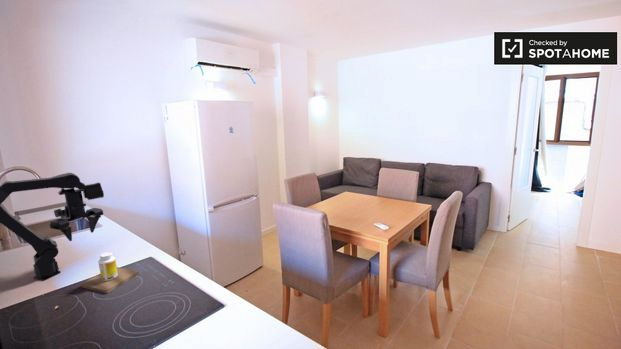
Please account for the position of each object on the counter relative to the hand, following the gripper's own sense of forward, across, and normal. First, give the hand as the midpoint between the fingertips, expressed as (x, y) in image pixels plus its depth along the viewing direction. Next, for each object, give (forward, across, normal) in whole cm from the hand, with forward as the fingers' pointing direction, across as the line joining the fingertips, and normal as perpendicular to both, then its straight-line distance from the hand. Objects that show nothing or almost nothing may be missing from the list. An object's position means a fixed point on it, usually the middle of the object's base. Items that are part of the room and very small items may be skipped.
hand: (81, 236), depth 132 cm
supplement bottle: (+12, +7, +23) cm, 27 cm away
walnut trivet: (+13, +7, +23) cm, 27 cm away
